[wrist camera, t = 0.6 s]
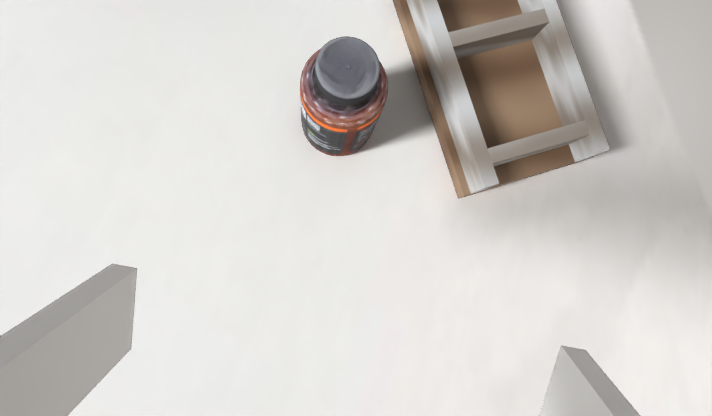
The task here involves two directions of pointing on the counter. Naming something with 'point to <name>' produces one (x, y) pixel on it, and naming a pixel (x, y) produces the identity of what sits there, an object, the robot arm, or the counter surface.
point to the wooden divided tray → (501, 88)
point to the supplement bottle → (342, 95)
